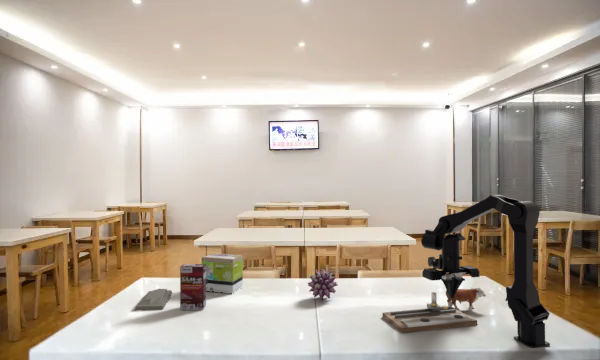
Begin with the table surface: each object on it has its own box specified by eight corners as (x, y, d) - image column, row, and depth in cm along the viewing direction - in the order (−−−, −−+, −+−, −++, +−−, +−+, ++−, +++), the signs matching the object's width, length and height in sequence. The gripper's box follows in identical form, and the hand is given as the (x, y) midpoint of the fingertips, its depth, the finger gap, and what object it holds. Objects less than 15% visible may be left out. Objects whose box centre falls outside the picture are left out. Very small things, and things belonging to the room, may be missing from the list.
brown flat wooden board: (477, 324, 122) (477, 315, 122) (402, 333, 116) (402, 323, 116) (450, 310, 135) (450, 302, 135) (382, 317, 129) (382, 308, 129)
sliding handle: (441, 310, 128) (441, 294, 128) (433, 311, 127) (433, 295, 127) (434, 306, 132) (434, 291, 132) (426, 307, 131) (426, 291, 131)
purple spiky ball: (343, 301, 146) (343, 270, 147) (314, 305, 142) (314, 273, 142) (330, 293, 157) (329, 264, 157) (303, 297, 153) (302, 267, 153)
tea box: (200, 291, 162) (200, 256, 162) (212, 285, 172) (212, 252, 172) (232, 294, 158) (232, 258, 158) (243, 287, 167) (243, 254, 167)
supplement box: (179, 310, 138) (179, 266, 138) (183, 306, 143) (183, 263, 143) (203, 310, 138) (203, 266, 138) (206, 305, 143) (206, 263, 143)
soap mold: (133, 312, 138) (133, 303, 138) (147, 296, 158) (147, 287, 158) (163, 311, 140) (163, 301, 140) (173, 294, 160) (173, 286, 160)
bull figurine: (487, 312, 133) (487, 288, 133) (446, 310, 136) (446, 287, 136) (484, 308, 137) (483, 285, 137) (444, 306, 140) (444, 283, 140)
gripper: (459, 247, 141) (460, 289, 141) (413, 249, 136) (414, 293, 136) (480, 252, 130) (481, 298, 130) (431, 255, 126) (431, 303, 126)
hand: (451, 298), depth 131 cm, fingers closed
